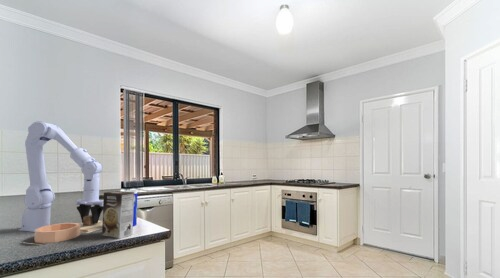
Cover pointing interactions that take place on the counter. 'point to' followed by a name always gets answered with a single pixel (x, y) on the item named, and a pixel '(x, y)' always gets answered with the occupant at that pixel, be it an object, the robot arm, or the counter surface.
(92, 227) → the lid
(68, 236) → the bowl
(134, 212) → the beverage can
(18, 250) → the counter surface
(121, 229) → the coffee box
